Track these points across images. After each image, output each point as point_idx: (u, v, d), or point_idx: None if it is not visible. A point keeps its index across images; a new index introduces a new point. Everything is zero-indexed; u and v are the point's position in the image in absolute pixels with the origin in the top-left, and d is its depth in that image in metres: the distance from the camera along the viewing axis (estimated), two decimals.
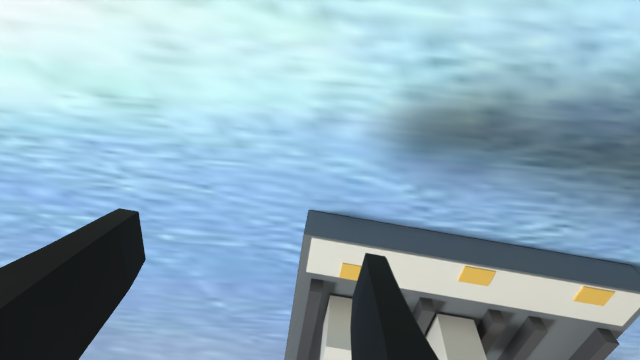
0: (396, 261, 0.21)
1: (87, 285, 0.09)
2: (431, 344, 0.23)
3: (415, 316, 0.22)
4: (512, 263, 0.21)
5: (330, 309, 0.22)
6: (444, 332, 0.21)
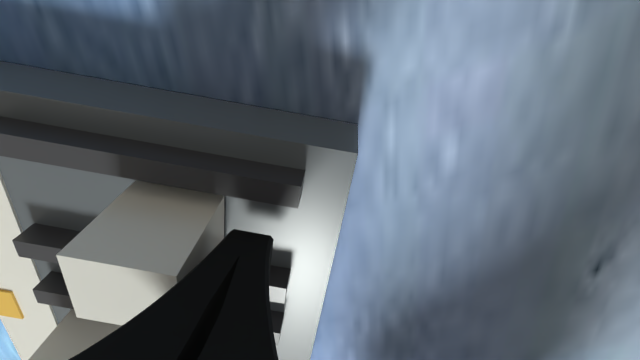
0: None
1: None
2: None
3: None
4: None
5: None
6: None
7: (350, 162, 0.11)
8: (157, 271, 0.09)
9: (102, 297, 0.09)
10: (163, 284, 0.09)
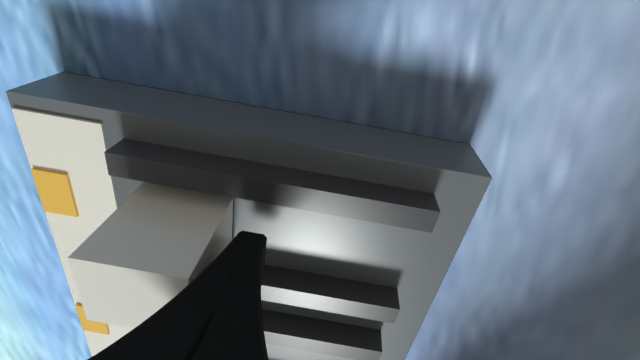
0: None
1: None
2: None
3: None
4: None
5: None
6: None
7: (482, 186, 0.11)
8: (169, 274, 0.09)
9: (113, 300, 0.09)
10: (175, 286, 0.09)
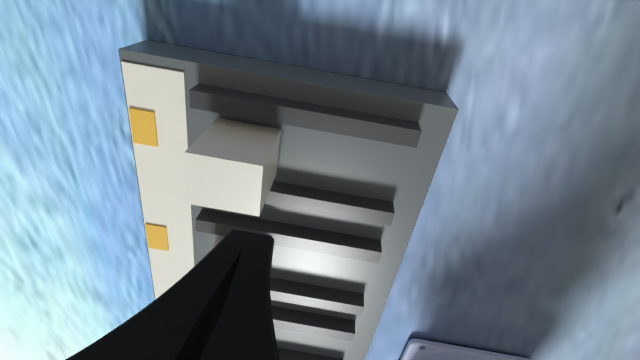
0: (165, 290, 0.23)
1: (222, 310, 0.09)
2: None
3: None
4: None
5: None
6: None
7: (452, 115, 0.15)
8: (250, 163, 0.13)
9: (209, 185, 0.14)
10: (253, 172, 0.13)
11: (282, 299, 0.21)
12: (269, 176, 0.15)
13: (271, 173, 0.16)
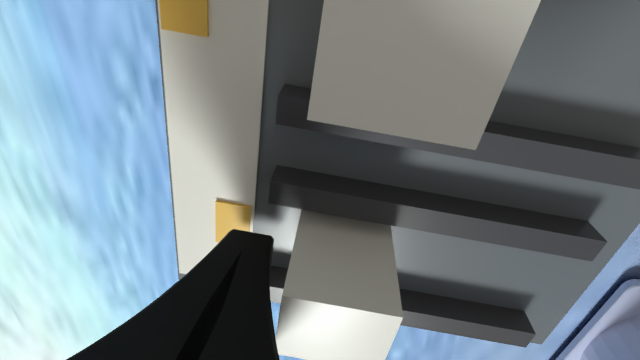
0: (194, 160, 0.11)
1: None
2: None
3: None
4: None
5: None
6: None
7: None
8: None
9: None
10: None
11: (470, 151, 0.09)
12: None
13: None
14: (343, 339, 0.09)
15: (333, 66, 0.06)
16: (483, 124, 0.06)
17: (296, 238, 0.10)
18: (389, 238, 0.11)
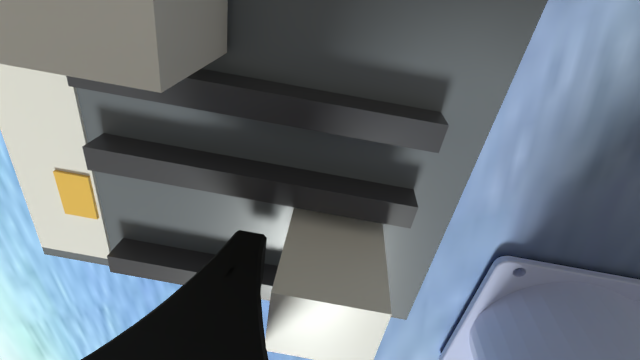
0: (24, 128, 0.11)
1: None
2: None
3: None
4: None
5: None
6: None
7: None
8: None
9: None
10: None
11: (260, 113, 0.09)
12: None
13: None
14: (332, 336, 0.09)
15: None
16: (153, 64, 0.06)
17: (287, 236, 0.10)
18: (380, 236, 0.11)
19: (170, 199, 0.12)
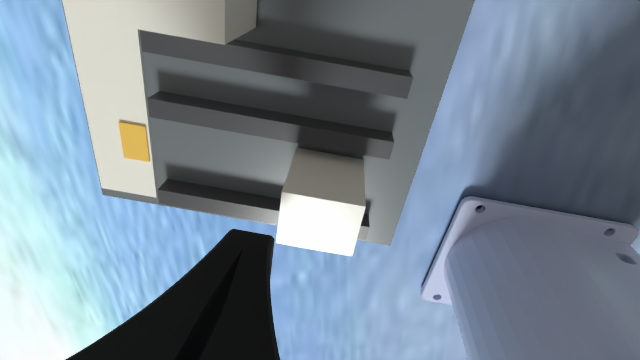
0: (98, 88, 0.15)
1: (222, 310, 0.09)
2: None
3: None
4: None
5: None
6: None
7: None
8: None
9: None
10: None
11: (279, 70, 0.13)
12: None
13: None
14: (325, 227, 0.13)
15: None
16: (221, 26, 0.10)
17: (292, 163, 0.14)
18: (361, 166, 0.15)
19: (207, 144, 0.16)
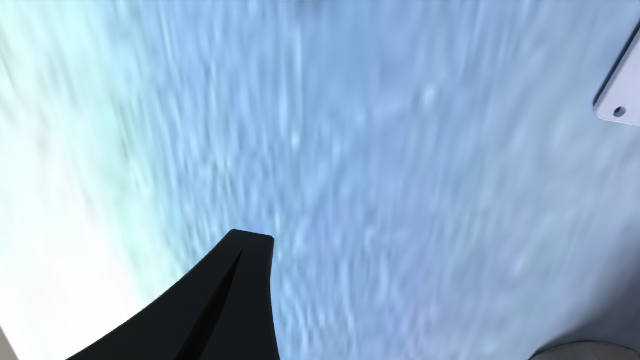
0: None
1: (222, 310, 0.09)
2: None
3: None
4: None
5: None
6: None
7: None
8: None
9: None
10: None
11: None
12: None
13: None
14: None
15: None
16: None
17: None
18: None
19: None
